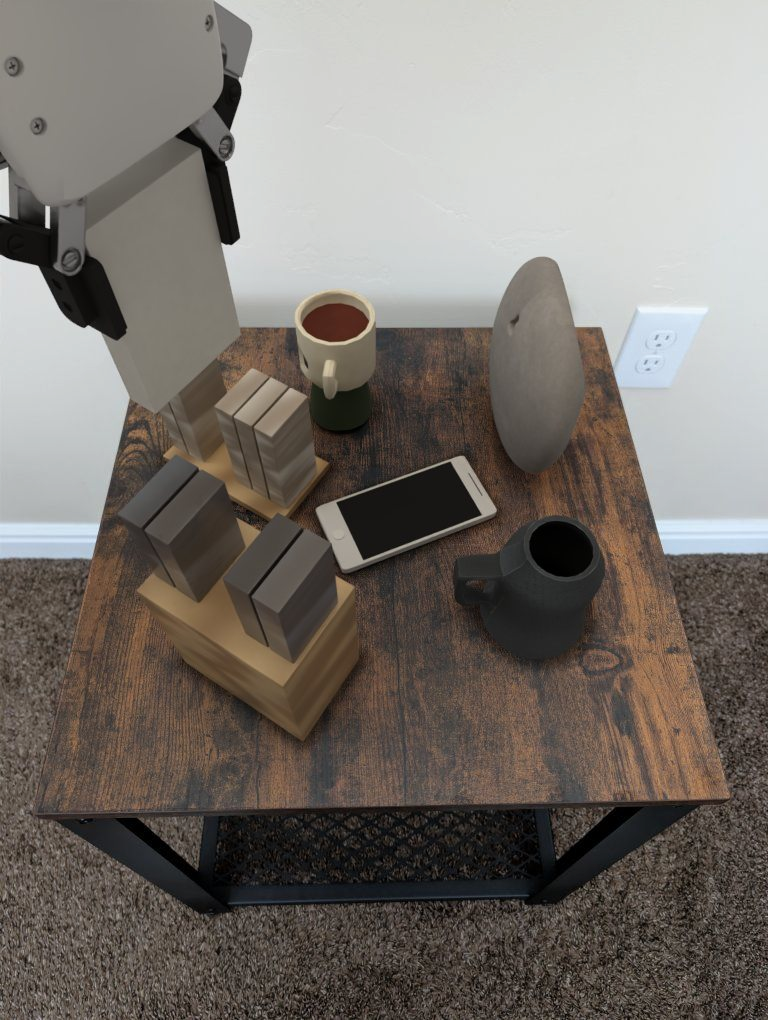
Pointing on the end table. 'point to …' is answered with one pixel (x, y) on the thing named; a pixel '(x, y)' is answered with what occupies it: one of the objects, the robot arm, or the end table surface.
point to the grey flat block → (163, 271)
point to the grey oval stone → (535, 367)
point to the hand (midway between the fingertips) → (158, 274)
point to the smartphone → (404, 513)
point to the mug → (535, 586)
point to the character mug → (337, 356)
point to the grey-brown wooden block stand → (247, 439)
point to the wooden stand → (244, 596)
